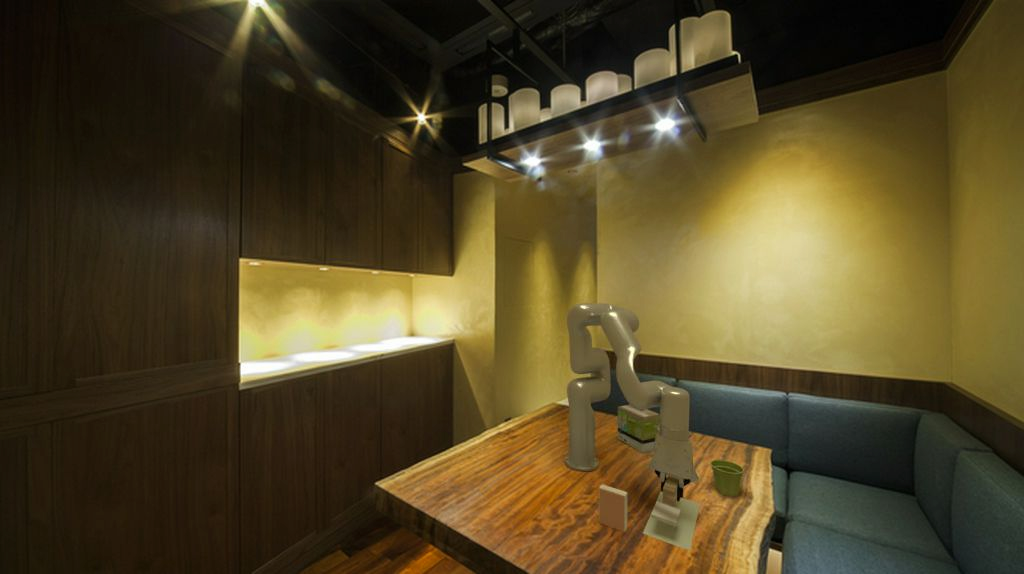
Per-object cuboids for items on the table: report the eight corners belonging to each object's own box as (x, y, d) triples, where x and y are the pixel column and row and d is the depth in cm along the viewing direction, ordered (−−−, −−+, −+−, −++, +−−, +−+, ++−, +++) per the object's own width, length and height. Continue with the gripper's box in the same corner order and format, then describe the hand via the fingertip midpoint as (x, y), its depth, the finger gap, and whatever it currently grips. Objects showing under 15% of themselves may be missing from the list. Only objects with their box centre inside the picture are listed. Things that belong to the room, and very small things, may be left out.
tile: (601, 521, 96) (601, 484, 97) (627, 530, 93) (627, 492, 93) (598, 525, 95) (598, 487, 95) (624, 535, 91) (625, 496, 91)
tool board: (660, 494, 110) (660, 491, 111) (699, 506, 104) (699, 503, 104) (642, 536, 90) (642, 533, 90) (690, 554, 84) (690, 550, 84)
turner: (665, 482, 108) (666, 466, 108) (687, 488, 105) (687, 472, 105) (651, 517, 91) (651, 497, 91) (676, 526, 87) (677, 506, 87)
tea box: (616, 439, 154) (616, 405, 154) (633, 436, 158) (634, 403, 159) (642, 453, 140) (642, 416, 141) (660, 449, 144) (660, 413, 145)
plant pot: (703, 486, 116) (703, 459, 116) (730, 485, 117) (730, 459, 117) (722, 502, 107) (722, 473, 107) (751, 501, 107) (751, 472, 108)
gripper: (640, 429, 101) (638, 493, 101) (705, 444, 92) (703, 514, 92) (646, 421, 107) (644, 481, 107) (707, 435, 98) (705, 500, 98)
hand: (671, 496), depth 100 cm, fingers closed on turner, 3 cm apart
